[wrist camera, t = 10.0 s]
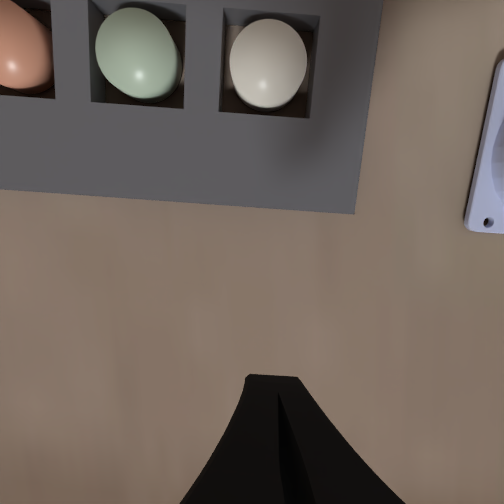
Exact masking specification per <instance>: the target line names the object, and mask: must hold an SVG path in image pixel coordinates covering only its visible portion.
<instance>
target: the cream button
mask: <svg viewBox="0 0 504 504" xmlns="http://www.w3.org/2000/svg"><path fill="white" fill-rule="evenodd" d="M306 68H307V54H306V49H305V46H304V43H303V41H302V39H301V38H300V36H299V35H298V33H297V32H296V31H295V30H294V29H293V28H292V27H291V26H289V25H288V24H286V23H284V22H282V21H279V20H275V19H262V20H258V21H255V22H253V23H251V24H250V25H248V26H247V27H245V28H244V29H243V30H242V31H241V32H240V33H239V35H238V36H237V38H236V39H235V41H234V43H233V46H232V49H231V53H230V71H231V76H232V82H233V86H234V89H235V92H236V93H237V95H238V97H239V98H240V100H241V101H242V102H243V103H244V104H245V105H247V106H248V107H250V108H251V109H254V110H256V111H260V112H272V111H276V110H279V109H281V108H283V107H284V106H286V105H287V104H288V103H289V102H290V101H291V100H292V99H293V97H294V96H295V94H296V92H297V91H298V89H299V87H300V85H301V83H302V81H303V79H304V76H305V73H306Z"/></svg>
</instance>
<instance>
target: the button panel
mask: <svg viewBox="0 0 504 504" xmlns="http://www.w3.org/2000/svg"><path fill="white" fill-rule="evenodd" d="M10 1H12V2H14V3H15V4H17V5H18V6H19V7H21V8H31V9H43V10H51V21H52V40H53V60H54V79H55V98H56V99H45V98H32V97H19V96H6V95H0V189H4V190H18V191H32V192H46V193H61V194H75V195H89V196H103V197H117V198H131V199H145V200H159V201H173V202H187V203H201V204H215V205H229V206H243V207H257V208H271V209H286V210H300V211H314V212H328V213H342V214H354V212H355V204H356V197H357V190H358V182H359V175H360V168H361V160H362V153H363V146H364V139H365V131H366V124H367V117H368V109H369V102H370V95H371V87H372V80H373V73H374V65H375V58H376V51H377V43H378V36H379V29H380V21H381V14H382V7H383V0H10ZM123 8H140V9H143V10H146V11H148V12H150V13H152V14H153V15H155V16H156V17H157V18H158V19H165V20H177V21H186V38H185V78H184V109H175V108H162V107H149V106H136V105H123V104H110V103H105V76H104V74H103V73H102V71H101V69H100V67H99V64H98V61H97V57H96V50H95V46H96V37H97V34H98V31H99V29H100V27H101V25H102V23H103V22H104V15H111V14H112V13H114V12H116V11H118V10H120V9H123ZM262 19H275V20H279V21H282V22H284V23H286V24H288V25H289V26H291V27H292V28H293V29H294V30H299V31H311V32H313V42H312V52H311V63H310V73H309V83H308V93H307V103H306V113H305V118H293V117H280V116H267V115H254V114H241V113H228V112H222V93H223V72H224V51H225V31H226V25H238V26H248V25H250V24H251V23H253V22H255V21H258V20H262Z"/></svg>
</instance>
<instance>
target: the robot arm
mask: <svg viewBox="0 0 504 504" xmlns="http://www.w3.org/2000/svg"><path fill="white" fill-rule="evenodd" d="M486 218H488V224H487V225H486V226H484V225H483V222H484V220H485V219H486ZM464 225H465V227H466V228H467V229H468V230H471V231H475V232H488V233H502V234H504V59H503V60H501V61H500V62H499V63H498V65H497V67H496V71H495V76H494V80H493V85H492V90H491V95H490V100H489V104H488V109H487V114H486V119H485V124H484V128H483V133H482V138H481V143H480V148H479V152H478V157H477V162H476V167H475V172H474V176H473V181H472V186H471V191H470V196H469V200H468V205H467V210H466V215H465V220H464ZM180 504H405V503H404V502H403V501H402V500H401V499H400V498H399V497H398V496H397V495H396V494H395V493H394V492H393V491H392V490H391V489H390V488H389V487H388V486H387V485H386V484H385V483H384V482H383V481H382V480H381V479H380V478H379V477H378V476H377V475H376V474H375V473H374V472H373V470H372V469H371V468H370V467H369V466H368V465H367V464H366V463H365V462H364V461H363V459H362V458H361V457H360V456H359V455H358V454H357V453H356V452H355V450H354V449H353V448H352V447H351V446H350V445H349V443H348V442H347V441H346V440H345V439H344V437H343V436H342V435H341V434H340V432H339V431H338V430H337V429H336V427H335V426H334V425H333V424H332V422H331V421H330V420H329V419H328V417H327V416H326V415H325V413H324V412H323V411H322V409H321V408H320V407H319V405H318V404H317V403H316V401H315V400H314V399H313V397H312V396H311V395H310V393H309V392H308V390H307V389H306V388H305V386H304V385H303V383H302V382H301V381H300V379H299V378H298V377H291V376H275V375H258V374H249V375H248V376H247V377H246V378H245V384H244V388H243V392H242V395H241V397H240V400H239V402H238V405H237V407H236V410H235V412H234V414H233V416H232V418H231V420H230V422H229V424H228V426H227V428H226V430H225V432H224V434H223V436H222V438H221V439H220V441H219V443H218V445H217V446H216V448H215V450H214V452H213V453H212V455H211V457H210V459H209V460H208V462H207V464H206V465H205V467H204V468H203V470H202V471H201V473H200V475H199V476H198V478H197V479H196V481H195V482H194V484H193V485H192V486H191V488H190V489H189V491H188V492H187V494H186V495H185V497H184V498H183V499H182V501H181V502H180Z"/></svg>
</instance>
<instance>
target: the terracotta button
mask: <svg viewBox="0 0 504 504" xmlns="http://www.w3.org/2000/svg"><path fill="white" fill-rule="evenodd" d="M54 83H55V79H54V60H53V40H52V32H51V31H50V30H49V29H48V28H47V27H46V26H45V25H43V24H42V23H41V22H39V21H38V20H37V19H35V18H34V17H33V16H31V15H30V14H29V13H27V12H26V11H25V10H23V9H22V8H21V7H19V6H18V5H17V4H15V3H14V2H12V1H10V0H0V85H3V86H6V87H8V88H11V89H13V90H16V91H19V92H22V93H26V94H37V93H41V92H44V91H46V90H47V89H49V88H50V87H51V86H52V85H53V84H54Z"/></svg>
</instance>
